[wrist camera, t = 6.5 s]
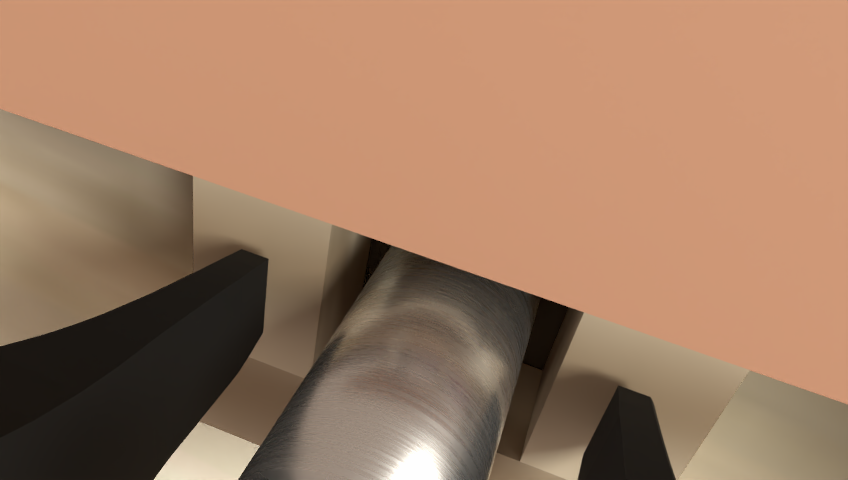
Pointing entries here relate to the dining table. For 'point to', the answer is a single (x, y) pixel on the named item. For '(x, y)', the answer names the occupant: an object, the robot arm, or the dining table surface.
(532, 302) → the peg
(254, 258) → the robot arm
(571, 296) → the peach and white stand
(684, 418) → the socket block
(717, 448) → the dining table surface
